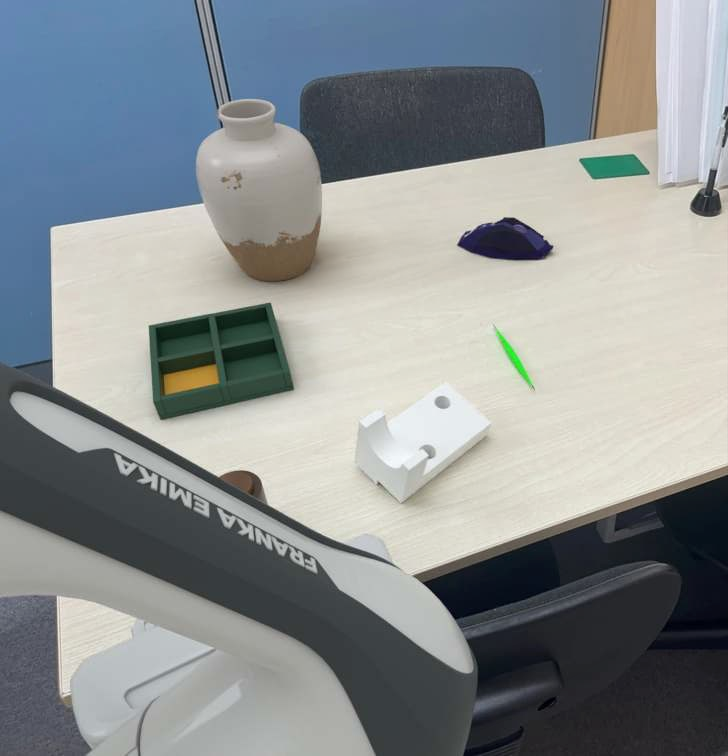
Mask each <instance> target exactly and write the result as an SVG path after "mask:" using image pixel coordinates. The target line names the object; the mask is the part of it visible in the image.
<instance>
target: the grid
mask: <svg viewBox="0 0 728 756" xmlns="http://www.w3.org/2000/svg"><path fill="white" fill-rule="evenodd" d="M148 340H149V357H150V372H151V388H152V389H151V390H152V403H153V405H154V407H155V410H156V413H157V415H158V418H159V420H160V421H161V420H165V419H171V418H174V417H179V416H184V415H187V414H192V413H196V412H201V411H206V410H209V409H213V408H218V407H222V406H227V405H232V404H235V403H240V402H244V401H249V400H254V399H258V398H262V397H266V396H270V395H275V394H280V393H284V392H288V391H289V392H290V391H292V390H295V387H294V381H293V378H292V373H291V369H290V365H289V362H288V359H287V355H286V351H285V347H284V344H283V340H282V337H281V333H280V330H279V327H278V323H277V319H276V316H275V312H274V308H273V305H272V303H271V302H265V303H260V304H254V305H250V306H244V307H239V308H233V309H229V310H224V311H218V312H212V313H205V314H202V315H195V316H191V317H185V318H179V319H174V320H169V321H165V322H160V323H159V322H158V323H154V324H149V325H148Z"/></svg>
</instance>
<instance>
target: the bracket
mask: <svg viewBox="0 0 728 756" xmlns="http://www.w3.org/2000/svg"><path fill="white" fill-rule="evenodd" d="M491 425H492V421H491V420H490V419H488V418H487V416H485V415H484V413H481V412H480V411H479V409H478V408H476V407H475V405H473V404H472V403H471V402H469V400H468V399H466V398H465V397H464V396H463V395H462V394H460V392H459V391H457V390H456V389H455V388H454V387H453V386H452V385H451V384H450V383H449V382H447V381H445V382H444V383H442V384H440V385H439V386H437V388H435V389H433V390H432V391H431V392H429V393H428V394H426V395H425V396H423V397H422V398H421V399H419V400H418V401H416V402H415V403H413V404H412V405H410V406H409V407H407V408H406V409H405V410H403V411H402V412H400V413H398V414H397V415H396V416H394V417H393V418H391V419H390V420H389V421H387V414H386V413H385V412H384V411H383V410H382V409H381V408H380V407H379V408H377V409H375V410H374V411H373V412H371V413H369V414H368V415H366V416H365V417H364V418H362V419H361V420H359V421H358V428H357V435H356V436H357V437H356V443H355V452H354V460H353V463H354V464H355V465H356V466H357V467H358V468H359V469H360V470H361V471H362V472H363V473H364V474H365V475H366V476H367V477H368V478H369V479H370V480H371V481H372V482H373V483H374V484H375V485H378V484H380V485H382V486H383V488H385V489H386V491H388V492H389V493H390V494H391V495H392V497H394V499H395V500H397V501H398V503H399V504H402V503H405V501H406V500H408V499H409V498H410V497H412V496H413V495H414V494H415V493H416V492H417V491H419V490H420V489H421V488H423V487H424V486H425V485H426V484H428V483H429V482H430V481H432V480H433V479H434V478H435V477H437V476H438V475H439V474H440V473H442V472H443V471H444V470H446V469H447V468H448V467H450V465H452V464H453V463H454V462H455V461H457V460H458V459H459V458H461V457H462V456H463V455H465V454H466V453H467V452H468V451H470V450H471V449H472V448H473V447H475V446H476V445H478V444H479V442H481V441H482V440H483V439H485V438H486V437H487V436H488V434H489V431H490V428H491Z"/></svg>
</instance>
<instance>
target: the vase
mask: <svg viewBox="0 0 728 756" xmlns="http://www.w3.org/2000/svg"><path fill="white" fill-rule="evenodd" d="M276 115H277V108H276V106H275V105H274V104H273V103H272V102H270V101H268V100H264V99H258V98H242V99H236V100H231V101H229V102H225V103H224V104H222V105H220V106H219V108H218V109H217V111H216V116H217V118H218V120H219V121H221V123H222V126H223V127H222V128H220V129H217V130H215V131H213V132H212V133H210V134H209V135H208V136H207V137H205V138H204V139H203V140H202V142H201V144H200V145H199V147H198V149H197V153H196V158H195V175H196V182H197V185H198V186H197V187H198V191H199V194H200V197H201V200H202V203H203V206H204V208H205V210H206V213H207V215H208V217H209V218H210V221H211V223H212V225H213V227H214V229H215V231H216V233H217V235H218V236H219V239H220V240H221V241H222V243H223V245H224V246H225V248H226V250H227V251H228V253H229V254H230V255H231V256H232V258H233V259H234V260H235V262H236V264H237V265H238V266H239V267H240V268H241V269H242V270H243V271H244V273H246V274H247V275H248V276H249V277H250V278H252V279H255V280H258V281H262V282H282V281H287V280H290V279H294V278H296V277H298V276H300V275H302V274H304V273H305V272H306V271H308V269H309V268H310V266H311V265H312V262H313V260H314V257H315V253H316V249H317V245H318V242H319V238H320V231H321V226H322V216H323V215H322V214H323V213H322V212H323V184H322V177H321V176H322V175H321V169H320V164H319V161H318V158H317V155H316V153H315V150H314V148H313V147H312V145H311V143H310V141H309V140H308V139H307V138H306V136H304V134H302V132H300V131H299V130H297V129H295V128H293V127H291V126H289V125H286V124H283V123H279V122H275V116H276Z"/></svg>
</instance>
